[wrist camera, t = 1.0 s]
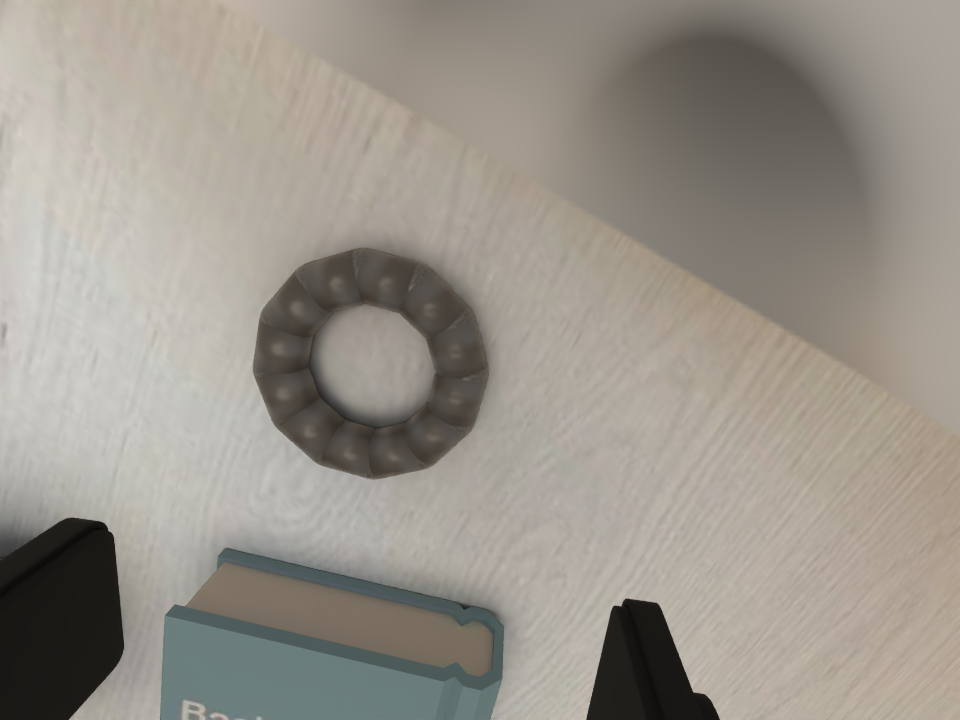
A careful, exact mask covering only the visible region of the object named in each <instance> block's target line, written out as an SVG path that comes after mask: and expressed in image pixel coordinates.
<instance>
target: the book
mask: <svg viewBox="0 0 960 720" xmlns="http://www.w3.org/2000/svg"><path fill="white" fill-rule="evenodd" d="M503 639H504V626H503V625H502V624H501V623H500V622H499V621H498V620H497V619H496V618H495V617H494V616H493V615H492V614H491V613H490V612H489V611H488V610H486V609H482V608H477V607H473V606H472V607H469V608H467V609H463V608H462V607H461V606H460V605H459V604H458V603H456V602H452V601H448V600H443V599H439V598H435V597H431V596H426V595H422V594H418V593H414V592H409V591H405V590H401V589H397V588H392V587H388V586H384V585H380V584H375V583H371V582H367V581H363V580H358V579H354V578H350V577H346V576H341V575H337V574H333V573H328V572H324V571H320V570H316V569H311V568H307V567H303V566H299V565H294V564H290V563H286V562H282V561H277V560H273V559H269V558H265V557H260V556H256V555H252V554H248V553H243V552H239V551H235V550H231V549H226V548H225V549H224V551H223V552H222V553H221V554H220V555H219V556H218V566H217V570H216V572H215V573H214V574H213V575H212V576H211V577H210V579H209V580H208V581H207V582H206V583H205V584H204V585H203V587H202V588H201V589H200V590H199V591H198V592H197V593H196V595H195V596H194V597H193V598H192V599H191V600H190V601H189V603H188V604H187V605H186V606H185V607H183V606H179V605H174V606H173V607H172V608H171V609H170V610H169V612H168V613H167V614H166V615H165V624H164V645H163V666H162V687H161V709H160V720H490V719H491V715H492V712H493V708H494V705H495V701H496V698H497V694H498V691H499V688H500V684H501V681H502V668H503Z"/></svg>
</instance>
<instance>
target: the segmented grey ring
mask: <svg viewBox="0 0 960 720" xmlns="http://www.w3.org/2000/svg"><path fill="white" fill-rule="evenodd" d="M362 304H368V305H372V306H375V307H379V308H383V309H386V310H390V311H394V312H397V313H400V314H401V315H402V316H403V317H404V318H405V319H406V320H407V321H408V322H409V323H410V324H411V325H412V326H413V327H414V328H415V329H416V330H417V331H418V332H420V333H421V334H422V335H423V336H424V337H425V338H426V341H427V344H428V347H429V350H430V354H431V357H432V360H433V364H434V367H435V370H436V373H435V377H434V381H433V385H432V389H431V393H430V397H429V401H428V402H427V403H426V404H425V405H424V406H423V407H422V408H421V409H420V410H419V411H418V412H417V413H416V414H415V415H414V416H413V417H412V418H411V419H410V420H409V421H408V422H405V423H401V424H396V425H392V426H387V427H383V428H379V429H376V428H372V427H369V426H365V425H361V424H358V423H354V422H350V421H347V420H345V419H343V418H342V417H341V416H340V415H339V414H338V413H337V412H336V411H335V410H334V409H332V408H331V407H330V406H329V405H328V404H327V403H326V402H325V401H324V400H323V399H322V398H320V397H319V394H318V391H317V388H316V386H315V383H314V380H313V377H312V375H311V372H310V369H309V367H308V363H309V357H310V351H311V346H312V340H313V334H314V333H315V332H316V331H317V330H318V329H319V328H320V327H321V326H322V325H323V324H324V322H325V321H326V320H327V319H328V318H329V317H330V316H331V315H332V314H333V313H334V312H336V311H340V310H343V309H347V308H351V307H355V306H358V305H362ZM253 373H254V377H255V379H256V382H257V384H258V387H259V389H260V392H261V394H262V397H263V399H264V402H265V404H266V407H267V409H268V412H269V414H270V417H271V420H272V422H273V424H274V425H275V427H276V428H277V429H278V430H279V431H281V432H282V433H283V434H284V435H285V436H286V437H287V438H288V439H290V440H291V441H292V442H293V443H294V444H295V445H296V446H297V447H299V448H300V449H301V450H302V451H303V452H304V453H305V454H306V455H308V456H309V457H310V458H311V459H312V460H313V461H314V462H316V463H317V464H319V465H322V466H325V467H328V468H332V469H336V470H339V471H343V472H346V473H350V474H354V475H357V476H361V477H365V478H368V479H381V478H386V477H391V476H395V475H400V474H405V473H409V472H414V471H419V470H423V469H427V468H429V467H431V466H433V465H434V464H435V463H437V462H438V461H439V460H440V459H441V458H442V457H443V456H444V455H445V454H446V453H448V452H449V451H450V450H451V449H452V448H453V447H454V446H455V445H456V444H457V443H458V442H460V441H461V440H462V439H463V438H464V437H465V436H466V435H467V434H468V433H469V432H470V431H471V430H472V428H473V427H474V425H475V422H476V418H477V415H478V411H479V408H480V404H481V401H482V397H483V394H484V390H485V387H486V383H487V380H488V375H489V367H488V362H487V359H486V355H485V351H484V348H483V344H482V340H481V337H480V333H479V330H478V326H477V322H476V319H475V316H474V313H473V311H472V310H471V308H470V307H469V306H468V305H467V304H466V303H465V302H464V301H463V300H462V299H461V298H460V297H459V296H458V295H457V294H456V293H455V292H454V291H453V290H452V289H451V288H450V287H449V286H448V285H447V284H446V283H445V282H444V281H443V280H442V279H441V278H440V277H439V276H438V275H437V274H436V273H435V272H434V271H433V270H432V269H431V268H430V267H428V266H427V265H425V264H423V263H420V262H416V261H413V260H409V259H405V258H402V257H398V256H395V255H391V254H387V253H384V252H380V251H376V250H373V249H368V248H358V249H354V250H350V251H347V252H343V253H340V254H336V255H333V256H329V257H326V258H322V259H319V260H315V261H312V262H308V263H306V264H304V265H302V266H300V267H299V268H298V269H297V270H296V271H295V272H294V273H293V274H292V276H291V277H290V278H289V279H288V280H287V281H286V282H285V284H284V285H283V286H282V287H281V288H280V289H279V291H278V292H277V293H276V294H275V295H274V296H273V298H272V299H271V300H270V301H269V302H268V303H267V304H266V306H265V307H264V308H263V310H262V312H261V315H260V319H259V326H258V333H257V340H256V347H255V354H254V361H253Z"/></svg>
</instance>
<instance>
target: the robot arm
mask: <svg viewBox="0 0 960 720" xmlns="http://www.w3.org/2000/svg"><path fill="white" fill-rule="evenodd" d="M123 650H124V639H123V628H122V618H121V607H120V596H119V586H118V575H117V565H116V554H115V543H114V537H113V534H112V533H111V532H109V531H108V528H107V526H106V525H105V523H103V522H99V521H93V520H86V519H79V518H66V519H64V520H62V521H60V522H59V523H57V524H56V525H54V526H53V527H51V528H49V529H48V530H46V531H45V532H43V533H42V534H40V535H39V536H37V537H36V538H34V539H33V540H31V541H30V542H28V543H27V544H25V545H24V546H22V547H21V548H19V549H17V550H16V551H14V552H13V553H11V554H10V555H8V556H7V557H5V558H4V559H2V560H1V561H0V720H69V719H70V717H71V716H72V715H73V714H74V713H75V712H76V711H77V710H78V709H79V707H80V706H81V705H82V704H83V703H84V702H85V701H86V700H87V699H88V697H89V696H90V695H91V694H92V693H93V692H94V691H95V690H96V688H97V687H98V686H99V685H100V684H101V683H102V682H103V681H104V680H105V678H106V677H107V676H108V675H109V674H110V673H111V672H112V671H113V669H114V668H115V667H116V666H117V664H118V662H119V661H120V659H121V656H122V654H123ZM587 720H720V719H719V717H718V714H717V712H716V709H715V708H714V706H713V704H712V702H711V700H710V699H709V698H708V697H707V696H706V695H705V694H700V693H694V692H693V691H692V688H691V686H690V683H689V680H688V678H687V675H686V673H685V670H684V667H683V665H682V662H681V659H680V657H679V654H678V652H677V649H676V646H675V644H674V641H673V638H672V636H671V633H670V631H669V628H668V625H667V623H666V620H665V618H664V615H663V612H662V610H661V608H660V606H659V605H658V604H657V603H654V602H647V601H640V600H633V599H625V600H624V601H623V604H622V607H621V606H613V608H612V611H611V614H610V619H609V623H608V627H607V632H606V636H605V640H604V645H603V649H602V653H601V658H600V662H599V666H598V671H597V675H596V679H595V684H594V688H593V692H592V697H591V701H590V705H589V710H588V714H587Z"/></svg>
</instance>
